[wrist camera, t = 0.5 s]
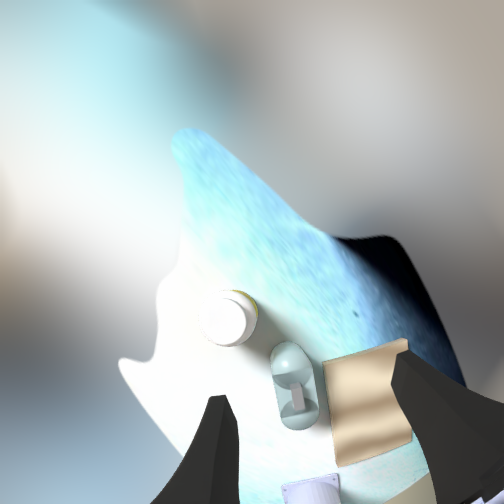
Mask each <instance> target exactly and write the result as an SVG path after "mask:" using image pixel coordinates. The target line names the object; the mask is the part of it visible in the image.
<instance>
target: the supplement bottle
mask: <svg viewBox="0 0 504 504" xmlns="http://www.w3.org/2000/svg"><path fill="white" fill-rule="evenodd" d="M257 319H258V309H257V305H256V303H255V301H254V300H253V299H252V298H251V297H250V296H249V295H248V294H246V293H245V292H242V291H238V290H223V291H219V292H216V293H214V294H212V295H211V296H210V297H208V298H207V299H206V301H205V302H204V303H203V305H202V307H201V310H200V315H199V321H200V328H201V330H202V333H203V334H204V336H205V337H206V338H207V339H208V340H210V341H211V342H213V343H215V344H217V345H220V346H226V347H231V346H236V345H239V344H241V343H243V342H245V341H246V340H247V339H248V338H249V337H250V336H251V334H252V333H253V331H254V329H255V325H256V322H257Z"/></svg>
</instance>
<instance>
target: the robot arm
mask: <svg viewBox="0 0 504 504" xmlns="http://www.w3.org/2000/svg"><path fill="white" fill-rule="evenodd" d="M391 387H392V389H393V392H394V395H395V397H396V400H397V402H398V404H399V406H400V408H401V410H402V411H403V413H404V415H405V417H406V419H407V420H408V422H409V424H410V426H411V427H412V429H413V431H414V433H415V435H416V437H417V438H418V441H419V443H420V445H421V447H422V450H423V453H424V455H425V458H426V461H427V464H428V467H429V471H430V474H431V477H432V481H433V485H434V489H435V495H436V501H437V504H504V403H500V402H498V401H494V400H492V399H489V398H487V397H484V396H482V395H480V394H477V393H475V392H473V391H471V390H469V389H467V388H465V387H464V386H462V385H460V384H459V383H457V382H455V381H453V380H452V379H450V378H449V377H447V376H446V375H444V374H443V373H441V372H440V371H438V370H437V369H435V368H434V367H432V366H431V365H430V364H428V363H427V362H425V361H424V360H423V359H421V358H420V357H419V356H417V355H416V354H414V353H413V352H412V351H410V350H406V351H403V352H400V353H398V354H397V355H396V360H395V365H394V370H393V375H392V380H391ZM334 478H335V479H334ZM238 481H239V435H238V426H237V420H236V418H235V416H234V413H233V411H232V409H231V406H230V404H229V402H228V399H227V397H226V395H220V396H211V397H210V398H209V400H208V403H207V406H206V409H205V412H204V415H203V417H202V420H201V422H200V425H199V427H198V430H197V432H196V434H195V436H194V439H193V441H192V443H191V445H190V447H189V449H188V451H187V453H186V454H185V456H184V458H183V460H182V462H181V463H180V465H179V467H178V468H177V470H176V472H175V473H174V475H173V476H172V478H171V479H170V480H169V482H168V483H167V484H166V486H165V487H164V488H163V490H162V491H161V492H160V493H159V495H158V496H157V497H156V498H155V499H154V500H153V501H152V502H151V503H150V504H240V501H239V487H238ZM281 489H282V493H283V497H284V501H285V504H341V501H340V495H339V483H338V475H337V474H336V473H334V474H330V475H326V476H322V477H318V478H313V479H309V480H304V481H299V482H294V483H288V484H283V485H282V486H281ZM284 489H286V490H284Z"/></svg>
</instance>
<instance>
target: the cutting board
mask: <svg viewBox="0 0 504 504" xmlns="http://www.w3.org/2000/svg"><path fill="white" fill-rule="evenodd" d="M406 350H408V343H407V339H404V338H400V339H397V340H395V341H392V342H389V343H386V344H383V345H380V346H377V347H373V348H370V349H367V350H364V351H360V352H357V353H353V354H350V355H346V356H343V357H339V358H335V359H332V360H328V361H324V362H322V365H323V371H324V377H325V384H326V391H327V397H328V404H329V411H330V419H331V426H332V434H333V442H334V451H335V460H336V464H337V466H338V468H339V467H342V466H346V465H349V464H352V463H355V462H359V461H362V460H365V459H368V458H370V457H373V456H376V455H379V454H382V453H384V452H387V451H389V450H392V449H394V448H397V447H399V446H402V445H404V444H406V443H409V442H411V437H412V427H411V426H410V424H409V422H408V420H407V419H406V417H405V415H404V413H403V411H402V410H401V408H400V406H399V404H398V402H397V400H396V397H395V395H394V392H393V389H392V387H391V380H392V375H393V370H394V365H395V360H396V355H397V354H398V353H400V352H403V351H406Z"/></svg>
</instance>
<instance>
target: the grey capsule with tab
mask: <svg viewBox="0 0 504 504" xmlns="http://www.w3.org/2000/svg"><path fill="white" fill-rule="evenodd" d="M270 361H271V370H272V377H273V382H274V387H275V392H276V397H277V402H278V407H279V412H280V417H281V421H282V423H283V424H284V425H285V426H286V427H287V428H289V429H292V430H304V429H307V428H309V427H311V426H312V425H313V424H314V423H315V422H316V421H317V419H318V417H319V405H318V399H317V393H316V387H315V380H314V374H313V369H312V364H311V362H310V360H309V359H308V357H307V356H306V354H305V353H304V352H303V350H302V349H301V347H300V346H299V345H297V344H296V343H293V342H282V343H280V344H278V345H277V346H276V347H275V348H274V349H273V350H272V352H271V356H270Z"/></svg>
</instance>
